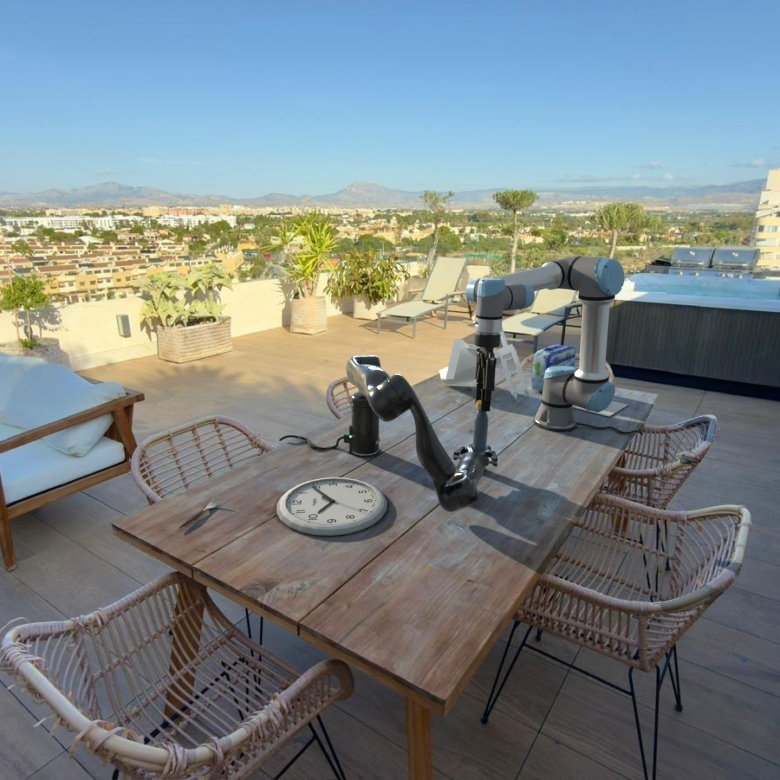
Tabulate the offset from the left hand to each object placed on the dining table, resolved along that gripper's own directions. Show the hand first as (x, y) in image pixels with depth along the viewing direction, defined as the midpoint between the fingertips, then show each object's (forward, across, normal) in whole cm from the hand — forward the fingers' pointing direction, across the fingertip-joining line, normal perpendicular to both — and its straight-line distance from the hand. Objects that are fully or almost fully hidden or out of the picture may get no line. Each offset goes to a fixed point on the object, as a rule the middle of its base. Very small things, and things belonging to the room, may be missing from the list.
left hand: (480, 446), depth 166 cm
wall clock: (-39, +33, +7) cm, 52 cm away
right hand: (-3, 0, -14) cm, 15 cm away
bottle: (-3, 0, +7) cm, 7 cm away
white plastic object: (+79, +14, +7) cm, 80 cm away
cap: (-3, 0, -16) cm, 16 cm away
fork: (-56, +63, +7) cm, 85 cm away
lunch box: (+97, -18, +7) cm, 99 cm away
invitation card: (+78, -39, +7) cm, 88 cm away
